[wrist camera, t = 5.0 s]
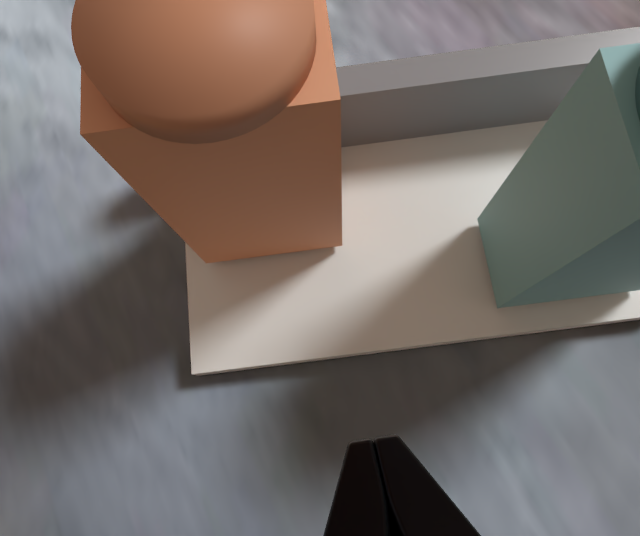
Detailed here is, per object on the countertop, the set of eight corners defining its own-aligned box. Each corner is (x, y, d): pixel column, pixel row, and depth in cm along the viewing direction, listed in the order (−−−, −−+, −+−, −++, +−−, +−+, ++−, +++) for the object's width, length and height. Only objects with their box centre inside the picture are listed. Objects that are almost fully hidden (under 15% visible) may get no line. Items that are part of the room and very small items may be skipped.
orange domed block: (344, 260, 16) (345, 96, 7) (207, 278, 16) (53, 135, 8) (328, 150, 17) (313, -102, 9) (200, 167, 17) (59, -66, 9)
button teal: (646, 305, 15) (1035, 178, 7) (500, 324, 15) (699, 221, 7) (610, 187, 16) (903, -53, 8) (474, 204, 16) (616, -14, 8)
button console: (652, 317, 16) (743, 292, 12) (198, 375, 16) (156, 367, 13) (585, 101, 18) (645, 25, 15) (187, 154, 18) (148, 92, 15)
